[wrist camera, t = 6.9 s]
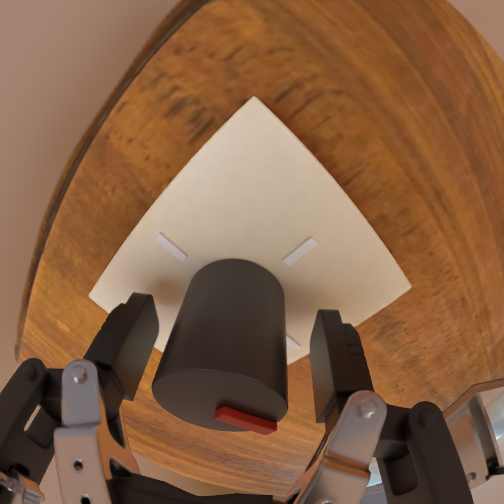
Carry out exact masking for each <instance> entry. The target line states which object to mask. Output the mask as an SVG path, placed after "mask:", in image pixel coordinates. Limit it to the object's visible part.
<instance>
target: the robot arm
mask: <svg viewBox="0 0 504 504" xmlns="http://www.w3.org/2000/svg"><path fill="white" fill-rule="evenodd" d="M158 334H159V320H158V316H157V311H156V307H155V302H154V298H153V296H152V295H151V294H145V293H137V292H133V293H132V294H131V296H130V297H129V299H128V301H127V302H126V304H124V303H120V304H119V305H118V306H117V307H115V308H114V309H113V310H112V311H111V312H110V314H109V315H108V317H107V319H106V322H104V324H103V325H102V327H101V330H99V332H98V334H97V335H96V337H95V339H94V340H93V342H92V344H91V346H90V347H89V349H88V351H87V353H86V354H85V356H84V358H83V359H77V360H74V361H72V362H70V363H69V364H68V365H67V366H66V367H65V368H64V369H49V368H46V367H45V365H44V364H43V362H42V361H41V360H39V359H37V358H30V359H28V360H26V361H24V362H23V363H22V364H21V365H20V366H19V368H18V369H17V370H16V372H15V373H14V375H13V376H12V377H11V379H10V380H9V382H8V383H7V385H6V386H5V387H4V389H3V390H2V392H1V393H0V504H40V502H43V501H44V499H45V498H44V494H43V493H42V492H41V491H40V489H39V485H40V482H41V481H42V478H43V476H44V474H45V472H46V470H47V468H48V466H49V464H50V462H51V460H52V458H53V456H54V454H55V459H56V467H57V474H58V481H59V487H60V492H61V497H62V502H63V504H359V503H360V501H361V499H362V496H363V494H364V492H365V490H366V488H367V485H368V483H369V480H370V475H371V472H370V471H369V464H370V462H371V459H372V457H376V459H377V463H378V467H379V471H380V475H381V479H382V483H383V487H384V491H385V495H386V499H387V504H474V503H473V499H472V495H471V491H470V488H469V485H468V481H467V478H466V475H465V472H464V469H463V466H462V463H461V460H460V457H459V454H458V452H457V449H456V446H455V444H454V441H453V439H452V436H451V433H450V431H449V429H448V426H447V424H446V421H445V419H444V417H443V414H442V412H441V410H440V409H439V408H438V407H437V406H436V405H435V404H433V403H431V402H427V401H423V402H419V403H417V404H416V405H414V406H413V407H412V408H411V409H410V408H404V407H398V406H393V405H389V404H387V403H385V401H384V400H383V398H382V397H381V396H380V395H378V394H377V393H375V391H374V389H373V385H372V381H371V377H370V373H369V369H368V366H367V362H366V358H365V356H364V351H363V347H362V346H361V345H362V344H361V340H360V337H359V333H358V332H357V331H356V330H355V328H354V327H353V326H352V325H351V323H342V319H341V316H340V312H339V310H335V309H319V310H318V312H317V315H316V319H315V323H314V326H313V330H312V333H311V337H310V360H311V369H312V379H313V390H314V402H315V414H316V423H325V429H326V431H325V433H324V434H323V436H322V438H321V440H320V442H319V444H318V446H317V448H316V450H315V452H314V453H313V455H312V457H311V459H310V461H309V462H308V464H307V466H306V468H305V469H304V471H303V473H302V474H301V476H300V477H299V478H298V480H297V481H296V483H295V484H294V485H293V487H292V488H291V490H290V491H289V493H288V494H287V496H286V497H285V499H284V501H283V502H281V501H278V500H274V499H272V498H273V495H254V494H238V493H235V494H226V495H216V496H196V495H193V494H191V493H188V492H186V491H184V490H182V489H179V488H177V487H175V486H173V485H171V484H168V483H166V482H164V481H160V480H157V479H153V478H149V477H146V476H142V475H141V474H140V470H139V467H138V465H137V462H136V460H135V459H134V457H133V455H132V453H131V450H130V446H129V442H128V437H127V433H126V428H125V423H124V418H123V412H122V408H121V403H122V400H123V399H126V400H129V401H133V399H134V396H135V394H136V391H137V388H138V386H139V383H140V380H141V378H142V375H143V373H144V370H145V367H146V365H147V362H148V360H149V357H150V355H151V352H152V350H153V347H154V345H155V342H156V340H157V337H158ZM37 405H39V406H40V407H41V408H40V410H39V411H38V413H37V415H36V416H35V418H34V420H33V421H32V423H31V425H30V426H29V428H28V430H26V431H24V427H25V425H26V423H27V421H28V420H29V418H30V417H31V415H32V413H33V412H34V410H35V408H36V407H37Z"/></svg>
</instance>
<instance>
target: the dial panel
mask: <svg viewBox="0 0 504 504" xmlns="http://www.w3.org/2000/svg"><path fill="white" fill-rule="evenodd" d="M225 259H239V260H246V261H249V262H253V263H255V264H258V265H260V266H262V267H263V268H265V269H266V270H268V271H269V272H270V273H272V274H273V275H274V276H275V278H276V279H277V280H278V281H279V283H280V285H281V286H282V289H283V292H284V296H285V317H286V342H287V365H289V364H290V363H292V362H294V361H296V360H298V359H300V358H302V357H304V356H306V355H307V354H309V353H310V337H311V333H312V330H313V326H314V323H315V319H316V315H317V312H318V310H319V309H335V310H339V312H340V316H341V319H342V323H351V325H352V326H353V327H355V326H357V325H358V324H360V323H362V322H363V321H365V320H366V319H368V318H369V317H371V316H372V315H374V314H375V313H377V312H378V311H380V310H381V309H383V308H384V307H386V306H387V305H389V304H390V303H391V302H393V301H394V300H396V299H397V298H398V297H400V296H401V295H403V294H404V293H405V292H407V291H408V290H409V289H411V288H412V286H411V284H410V283H409V281H408V279H407V278H406V276H405V275H404V273H403V272H402V270H401V268H400V267H399V265H398V264H397V262H396V261H395V259H394V258H393V256H392V255H391V253H390V252H389V250H388V249H387V248H386V246H385V245H384V243H383V242H382V240H381V239H380V238H379V236H378V235H377V233H376V232H375V231H374V229H373V228H372V226H371V225H370V224H369V222H368V221H367V220H366V218H365V217H364V216H363V214H362V213H361V212H360V211H359V209H358V208H357V207H356V205H355V204H354V203H353V202H352V200H351V199H350V198H349V196H348V195H347V194H346V193H345V192H344V190H343V189H342V188H341V187H340V185H339V184H338V183H337V182H336V181H335V179H334V178H333V177H332V176H331V175H330V173H329V172H328V171H327V170H326V169H325V168H324V166H323V165H322V164H321V163H320V162H319V161H318V160H317V159H316V157H315V156H314V155H313V154H312V153H311V152H310V151H309V150H308V149H307V147H306V146H305V145H304V144H303V143H302V142H301V141H300V140H299V139H298V138H297V137H296V136H295V135H294V134H293V133H292V131H291V130H290V129H289V128H288V127H287V126H286V125H285V124H284V123H283V122H282V121H281V120H280V119H279V118H278V117H277V116H276V115H275V114H274V113H273V112H272V111H271V110H270V109H269V108H268V107H266V106H265V105H264V104H263V103H262V102H261V101H260V100H259V99H258V98H257V97H255V96H253V97H252V98H250V99H249V100H248V101H247V102H246V103H245V104H244V105H243V106H242V107H241V108H240V109H239V110H238V111H237V112H236V113H235V114H234V115H233V116H232V117H231V118H230V119H229V120H228V121H227V122H226V123H225V124H224V125H223V126H222V127H221V128H220V129H219V130H218V131H217V132H216V133H215V134H214V135H213V136H212V137H211V138H210V139H209V140H208V141H207V142H206V143H205V144H204V145H203V146H202V147H201V148H200V150H199V151H198V152H197V153H196V154H195V155H194V156H193V157H192V158H191V159H190V161H189V162H188V163H187V164H186V165H185V166H184V167H183V168H182V170H181V171H180V172H179V173H178V174H177V175H176V177H175V178H174V179H173V180H172V181H171V182H170V184H169V185H168V186H167V187H166V188H165V190H164V191H163V192H162V193H161V194H160V196H159V197H158V198H157V199H156V201H155V202H154V203H153V204H152V206H151V207H150V208H149V209H148V211H147V212H146V213H145V215H144V216H143V217H142V219H141V220H140V221H139V222H138V224H137V225H136V226H135V228H134V229H133V231H132V232H131V233H130V235H129V236H128V237H127V239H126V240H125V241H124V243H123V244H122V246H121V247H120V249H119V250H118V251H117V253H116V254H115V256H114V257H113V259H112V260H111V262H110V263H109V265H108V266H107V268H106V269H105V271H104V272H103V274H102V275H101V277H100V278H99V280H98V281H97V283H96V284H95V286H94V288H93V289H92V291H91V292H90V294H89V298H91V299H92V300H93V301H94V302H95V303H97V304H98V305H99V306H100V307H101V308H103V309H104V310H105V311H106V312H108V313H109V314H110V312H111V311H112V310H113V309H114V308H115V307H117V306H118V305H119V304H120V303H124V304H126V302H127V301H128V299H129V297H130V296H131V294H132V293H133V292H137V293H145V294H151V295H152V296H153V298H154V302H155V307H156V311H157V316H158V320H159V334H158V337H157V340H156V342H155V345H154V347H155V348H157V349H158V350H160V351H161V352H164V349H165V346H166V344H167V341H168V338H169V336H170V333H171V330H172V328H173V325H174V323H175V320H176V317H177V315H178V312H179V310H180V307H181V305H182V302H183V299H184V297H185V294H186V292H187V290H188V287H189V285H190V282H191V280H192V278H193V277H194V275H195V274H196V273H197V272H198V271H199V270H200V269H201V268H203V267H204V266H206V265H208V264H210V263H212V262H216V261H219V260H225Z"/></svg>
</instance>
